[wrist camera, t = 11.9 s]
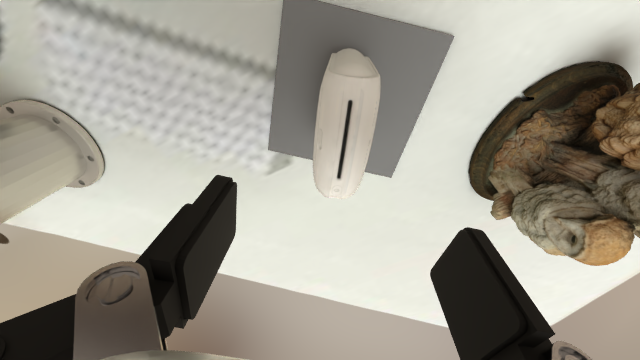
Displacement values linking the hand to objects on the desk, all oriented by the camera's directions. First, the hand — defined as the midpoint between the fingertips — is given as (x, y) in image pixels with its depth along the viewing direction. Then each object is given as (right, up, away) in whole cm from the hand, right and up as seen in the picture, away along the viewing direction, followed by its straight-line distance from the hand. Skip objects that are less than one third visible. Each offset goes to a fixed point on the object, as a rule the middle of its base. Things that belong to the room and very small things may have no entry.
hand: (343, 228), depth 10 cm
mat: (+2, +11, +17) cm, 20 cm away
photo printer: (+2, +11, +16) cm, 20 cm away
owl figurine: (+24, +7, +17) cm, 30 cm away
